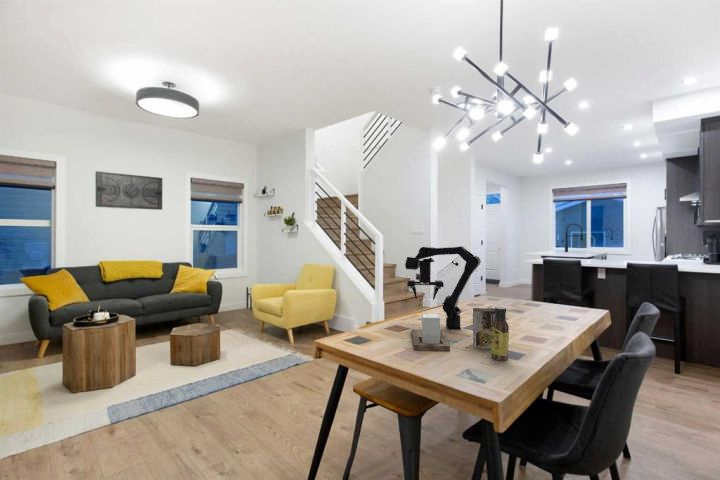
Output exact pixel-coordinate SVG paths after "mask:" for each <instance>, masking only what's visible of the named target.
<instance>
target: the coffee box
mask: <svg viewBox="0 0 720 480" xmlns="http://www.w3.org/2000/svg"><path fill="white" fill-rule="evenodd" d="M494 320H495V308H494V307H473V308H472V345H473V346H474V348H475V349H478V350H491V330H492V323H493V322H494Z"/></svg>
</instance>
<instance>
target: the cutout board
mask: <svg viewBox="0 0 720 480" xmlns="http://www.w3.org/2000/svg"><path fill="white" fill-rule="evenodd" d="M410 331H411V332H410V334H411V337H412V338H411V339H412V344H413V348H414V349H413V350H414V351H435V352H436V351H437V352H439V351H440V352H450V351H451V346H450V343H449V342H448V340H447V338H446V336H445V334H444V332H443V330H441V329H440V344H423V343H422V329H411V330H410Z"/></svg>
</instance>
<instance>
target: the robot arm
mask: <svg viewBox="0 0 720 480" xmlns="http://www.w3.org/2000/svg"><path fill="white" fill-rule="evenodd" d="M445 255H448V256H449V255H459V256H460V257H461V259H462V260H464V262H465V264H464V269H463V272H462V274H461V276H460V277H459V280H458V282H457V283H456V285H455V287H454V289H453V291H452V293H451V295H447V296H446V297H445V299H444V300H443V302H442V310H443V311H444V313H445V314H446V317H445V326H446V328H447V329H448V330H449V329H450V330H462V327H461V315H460V314H461V312H462V310H461V309H460V308H459V307H458V305H459V299H460V297H461V295H462V294H463V291H464V289H465V288H466V285H467V283H468V282H469V281H470V278H471V276H472V275H473V273H474V272H475V271H476V270H477V268H478V267H480V265H481V262H482V260H481V258H480V257H479V256H477V255H474V254H473V253H471V252H470V251H469V250H468V249H467V248H465V246H462V245H461V246H450V247H432V246H422V247H420V248H419V249H418V253H417V254H416V256H415V257H411V256H407V257H406V260H405V265H404V267H405V270H410V271H411V270H415V271H417V270H418V269H419V273H416V274H415V280H414V279H408V280H407V281H406V286H407V287H409V288H410V289H411V290H412V291H413V294H414V295H413V296H414V297H415V298H414V299H415V300H418V299H417V298H418V297H417V289H416V286H433V293H432V294H433V295H432V299H433V301H434V300H435V299H436V296H437V293H438V292H439V290H441V289H442V288H444V281H442V280H440V279H439V280H437V279H436V280H434V281H431V263H435V262H436V260H434V259H433V257H434V256H445Z"/></svg>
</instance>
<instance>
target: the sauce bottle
mask: <svg viewBox="0 0 720 480" xmlns="http://www.w3.org/2000/svg"><path fill="white" fill-rule="evenodd" d="M494 309H495V320H494V322H493V323H492V330H491V349H490V353H491V354H490V355H491V358H492V359H494V360H497V361H507V360H508V357H509V339H510V337H509V335H510V331H509V323H508V322H507V319H506V315H507V314H506V313H507V308H506V307H504V306H495V308H494Z"/></svg>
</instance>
